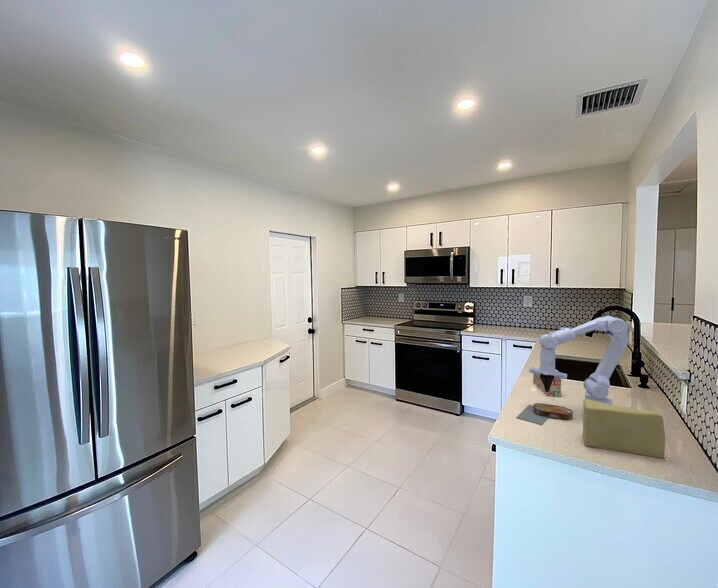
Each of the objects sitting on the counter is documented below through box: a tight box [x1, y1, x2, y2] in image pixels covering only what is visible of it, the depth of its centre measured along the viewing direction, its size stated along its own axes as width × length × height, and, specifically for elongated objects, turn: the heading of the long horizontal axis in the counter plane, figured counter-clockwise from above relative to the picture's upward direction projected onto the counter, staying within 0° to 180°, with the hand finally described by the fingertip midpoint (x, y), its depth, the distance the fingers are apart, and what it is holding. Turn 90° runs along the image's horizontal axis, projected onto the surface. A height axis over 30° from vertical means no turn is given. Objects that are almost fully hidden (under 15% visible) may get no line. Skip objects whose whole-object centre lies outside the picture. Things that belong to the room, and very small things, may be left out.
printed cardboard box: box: [532, 365, 562, 398], centre depth 170 cm, size 21×6×12 cm, turn 169°
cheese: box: [582, 398, 666, 459], centre depth 111 cm, size 22×10×15 cm, turn 58°
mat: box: [516, 404, 549, 426], centre depth 140 cm, size 10×18×1 cm, turn 136°
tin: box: [532, 402, 574, 421], centre depth 139 cm, size 15×3×8 cm
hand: (547, 391), depth 142 cm, fingers closed
